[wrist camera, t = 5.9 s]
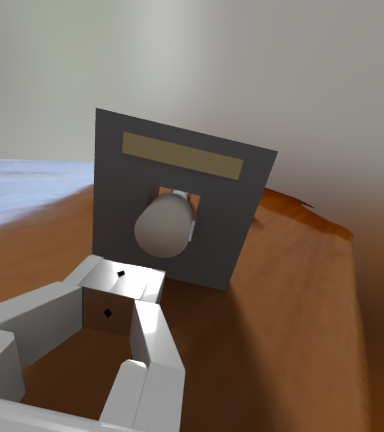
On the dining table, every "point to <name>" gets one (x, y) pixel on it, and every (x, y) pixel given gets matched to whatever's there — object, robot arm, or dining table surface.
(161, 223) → the knob
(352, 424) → the dining table surface
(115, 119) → the control block
